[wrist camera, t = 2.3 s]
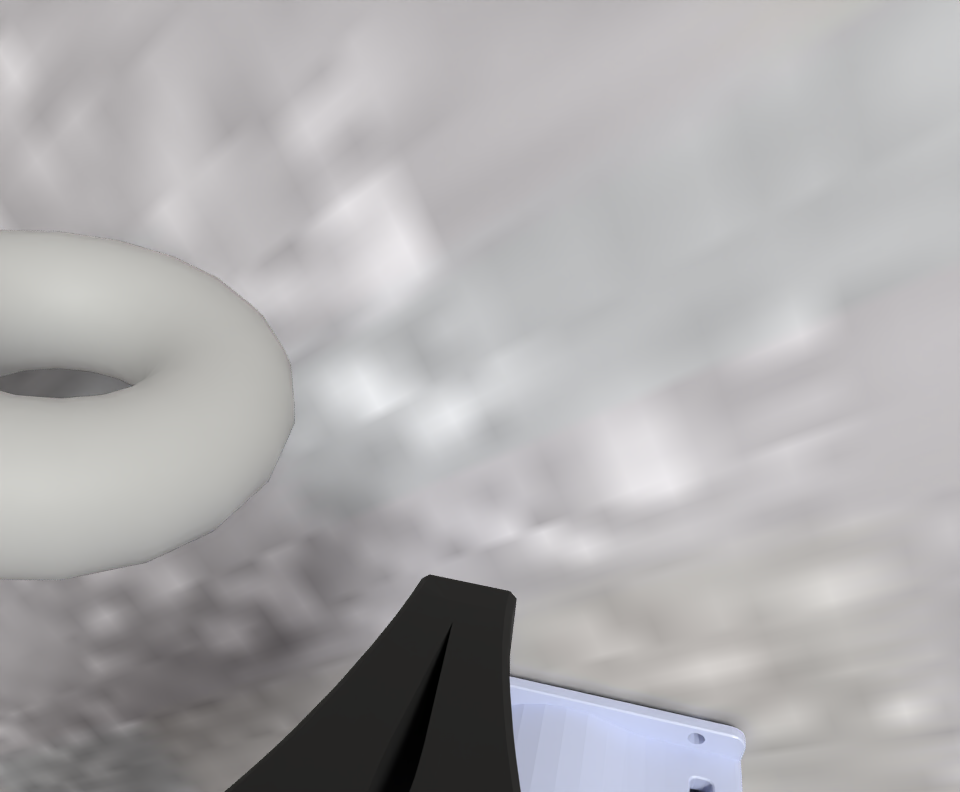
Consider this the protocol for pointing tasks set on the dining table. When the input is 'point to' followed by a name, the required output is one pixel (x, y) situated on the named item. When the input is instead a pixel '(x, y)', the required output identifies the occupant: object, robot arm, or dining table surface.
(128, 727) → the dining table surface
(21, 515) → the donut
